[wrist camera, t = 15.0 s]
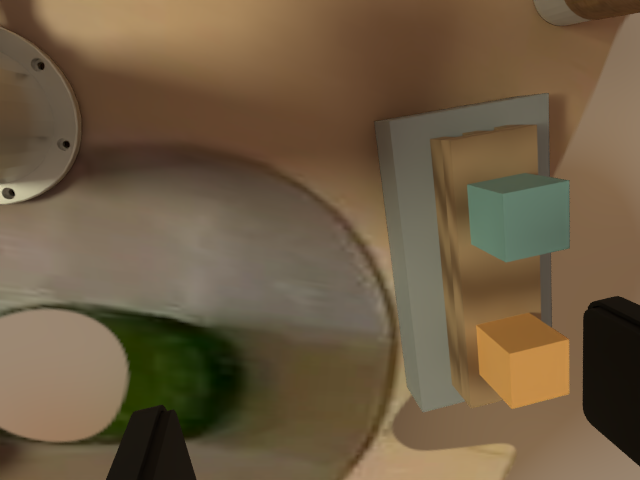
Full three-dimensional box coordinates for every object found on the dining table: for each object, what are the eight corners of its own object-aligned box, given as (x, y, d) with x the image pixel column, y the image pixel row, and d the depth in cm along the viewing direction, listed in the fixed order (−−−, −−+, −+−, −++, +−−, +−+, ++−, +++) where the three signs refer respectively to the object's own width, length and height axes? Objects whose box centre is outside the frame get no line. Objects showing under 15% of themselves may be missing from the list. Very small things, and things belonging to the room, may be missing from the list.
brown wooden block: (429, 139, 33) (450, 140, 30) (508, 124, 34) (537, 124, 30) (452, 384, 39) (471, 408, 36) (518, 367, 40) (542, 389, 37)
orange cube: (476, 325, 34) (509, 353, 30) (528, 312, 34) (569, 339, 30) (479, 374, 35) (511, 409, 31) (530, 361, 36) (569, 393, 31)
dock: (374, 121, 36) (389, 121, 32) (517, 96, 38) (548, 92, 34) (407, 387, 43) (422, 412, 39) (526, 357, 45) (552, 378, 41)
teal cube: (466, 184, 31) (502, 194, 26) (525, 173, 31) (569, 180, 27) (471, 244, 32) (506, 262, 28) (526, 232, 33) (569, 248, 28)
